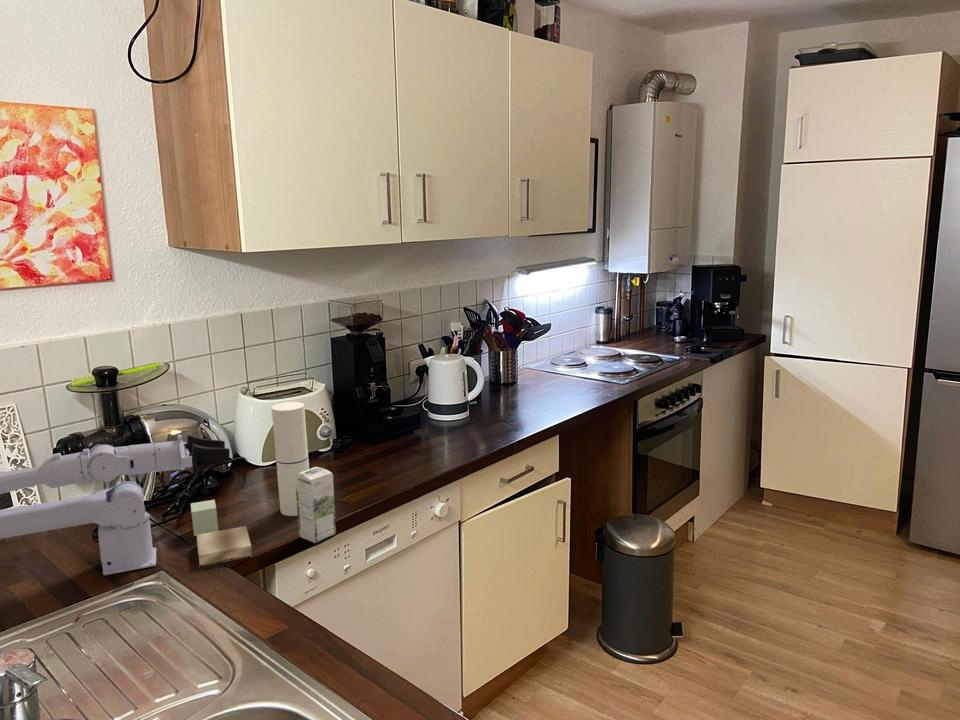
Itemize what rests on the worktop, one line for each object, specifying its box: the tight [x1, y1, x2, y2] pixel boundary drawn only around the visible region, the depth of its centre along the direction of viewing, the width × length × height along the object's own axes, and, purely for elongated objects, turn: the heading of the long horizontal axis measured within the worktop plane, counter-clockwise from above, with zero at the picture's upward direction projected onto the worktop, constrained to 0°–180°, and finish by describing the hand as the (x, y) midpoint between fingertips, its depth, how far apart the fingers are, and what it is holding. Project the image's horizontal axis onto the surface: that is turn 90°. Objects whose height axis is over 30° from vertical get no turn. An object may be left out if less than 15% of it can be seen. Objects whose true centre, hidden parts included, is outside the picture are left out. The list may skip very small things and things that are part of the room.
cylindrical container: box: [271, 401, 310, 517], centre depth 171 cm, size 7×7×25 cm
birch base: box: [196, 525, 253, 566], centre depth 154 cm, size 10×10×3 cm
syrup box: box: [295, 466, 337, 544], centre depth 159 cm, size 6×6×14 cm
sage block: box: [190, 499, 220, 537], centre depth 163 cm, size 5×5×6 cm
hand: (227, 449), depth 154 cm, fingers open, 7 cm apart
